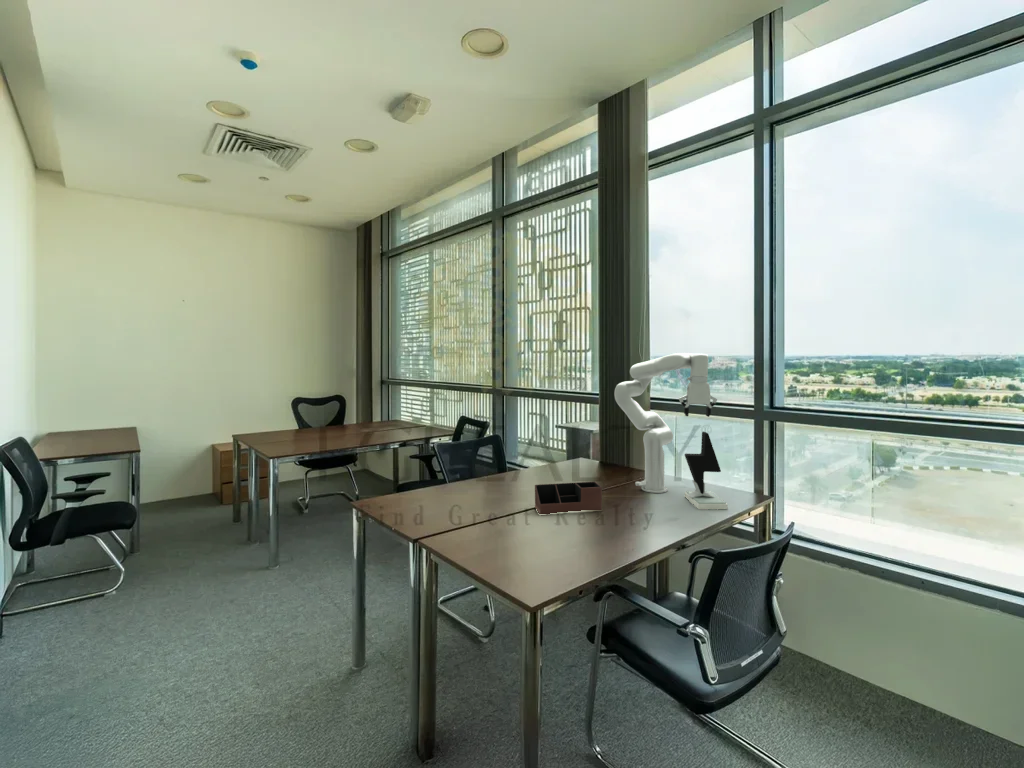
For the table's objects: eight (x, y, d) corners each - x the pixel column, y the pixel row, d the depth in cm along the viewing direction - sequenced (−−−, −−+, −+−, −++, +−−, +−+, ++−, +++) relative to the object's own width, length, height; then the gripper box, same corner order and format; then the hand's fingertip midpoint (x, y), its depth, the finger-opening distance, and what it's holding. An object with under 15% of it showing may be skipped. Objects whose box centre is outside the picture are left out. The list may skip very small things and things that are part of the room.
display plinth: (697, 509, 217) (698, 502, 217) (684, 497, 236) (684, 491, 236) (727, 509, 216) (727, 502, 216) (712, 497, 235) (712, 491, 235)
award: (716, 494, 229) (717, 431, 227) (720, 497, 224) (721, 433, 222) (683, 494, 230) (684, 431, 228) (687, 497, 225) (687, 433, 223)
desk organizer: (603, 512, 216) (603, 486, 215) (538, 516, 211) (538, 490, 211) (595, 504, 226) (595, 480, 226) (533, 509, 222) (533, 484, 221)
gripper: (682, 380, 226) (680, 416, 227) (720, 380, 225) (718, 417, 226) (677, 379, 233) (676, 414, 235) (715, 379, 232) (713, 415, 234)
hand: (697, 416), depth 230 cm, fingers open, 9 cm apart
